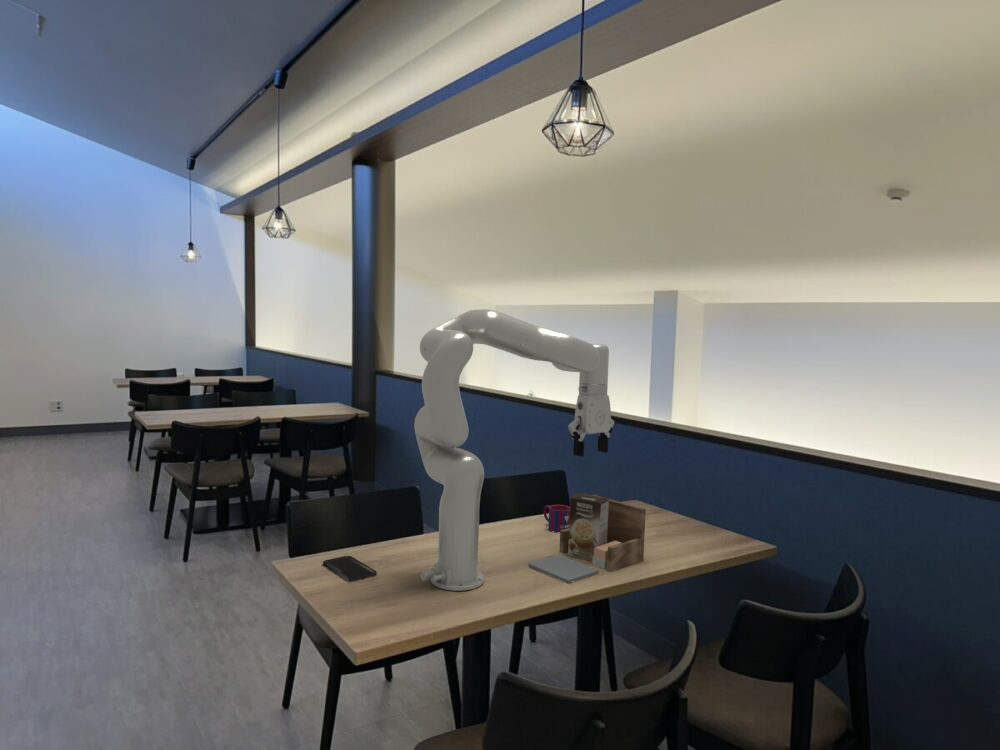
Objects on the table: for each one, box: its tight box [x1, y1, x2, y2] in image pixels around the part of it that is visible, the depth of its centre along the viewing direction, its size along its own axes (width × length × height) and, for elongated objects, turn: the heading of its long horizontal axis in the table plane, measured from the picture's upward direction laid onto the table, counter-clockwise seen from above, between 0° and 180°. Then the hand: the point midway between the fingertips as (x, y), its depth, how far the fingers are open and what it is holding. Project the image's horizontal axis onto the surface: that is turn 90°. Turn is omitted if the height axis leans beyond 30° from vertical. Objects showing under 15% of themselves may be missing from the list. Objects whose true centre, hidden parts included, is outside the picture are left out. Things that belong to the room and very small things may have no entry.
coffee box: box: [567, 492, 610, 562], centre depth 178 cm, size 9×6×16 cm
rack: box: [559, 494, 647, 572], centre depth 178 cm, size 14×18×14 cm
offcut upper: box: [594, 541, 621, 561], centre depth 173 cm, size 9×4×2 cm, turn 134°
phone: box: [322, 555, 378, 583], centre depth 163 cm, size 8×1×15 cm
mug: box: [543, 504, 570, 533], centre depth 202 cm, size 7×10×7 cm
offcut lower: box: [591, 556, 607, 570], centre depth 174 cm, size 10×4×2 cm, turn 132°
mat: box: [528, 554, 600, 584], centre depth 167 cm, size 11×14×1 cm
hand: (590, 453), depth 177 cm, fingers open, 9 cm apart
